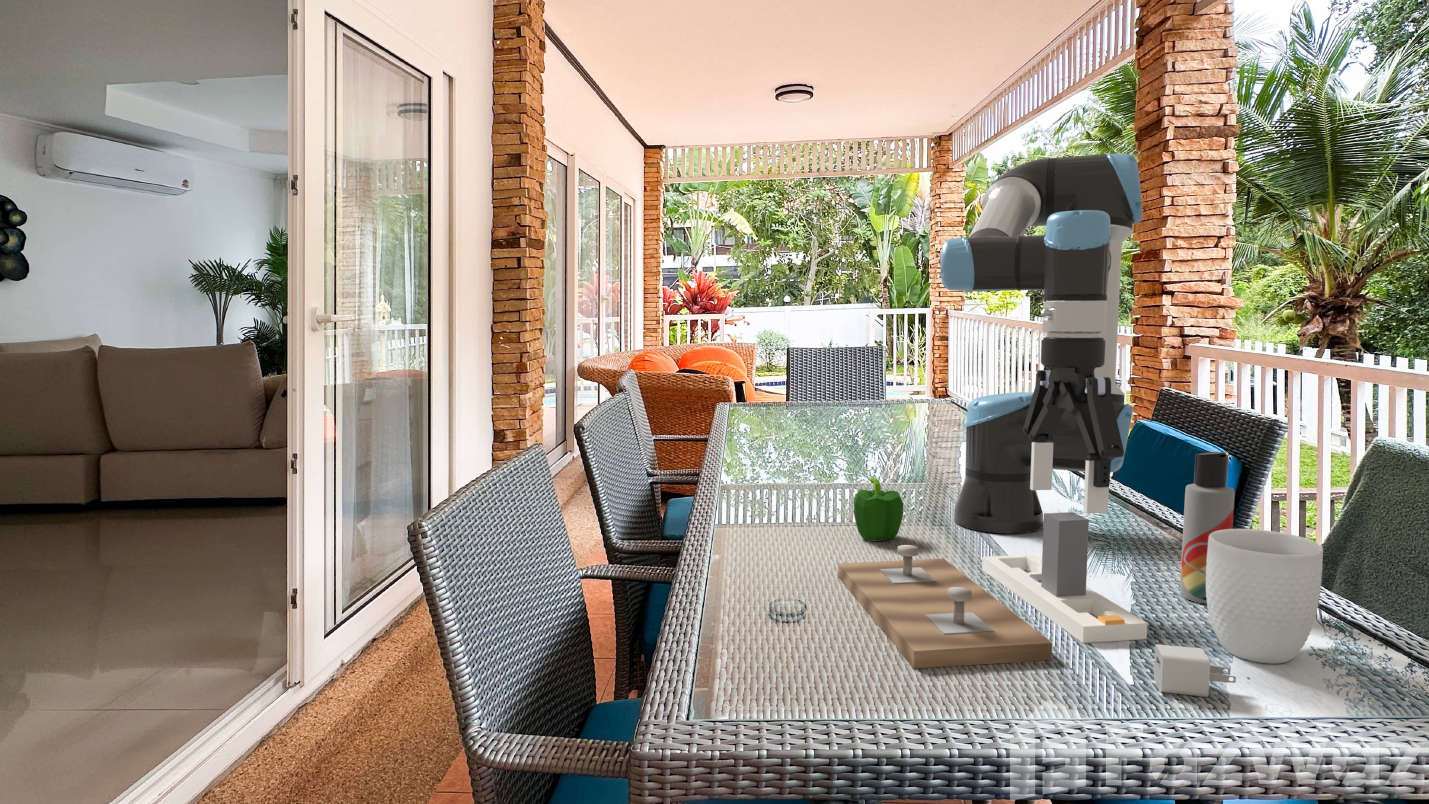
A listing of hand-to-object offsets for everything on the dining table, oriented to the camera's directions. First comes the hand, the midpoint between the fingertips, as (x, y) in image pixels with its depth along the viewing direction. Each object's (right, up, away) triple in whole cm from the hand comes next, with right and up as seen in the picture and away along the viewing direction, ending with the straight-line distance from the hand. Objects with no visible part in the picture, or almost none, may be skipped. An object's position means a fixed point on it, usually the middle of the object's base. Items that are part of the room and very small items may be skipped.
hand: (1066, 500), depth 113 cm
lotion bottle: (+20, -14, +4) cm, 25 cm away
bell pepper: (-18, -10, +35) cm, 41 cm away
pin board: (-18, -14, 0) cm, 23 cm away
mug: (+17, -16, -13) cm, 27 cm away
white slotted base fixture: (0, -14, +4) cm, 14 cm away
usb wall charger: (+4, -17, -22) cm, 29 cm away
